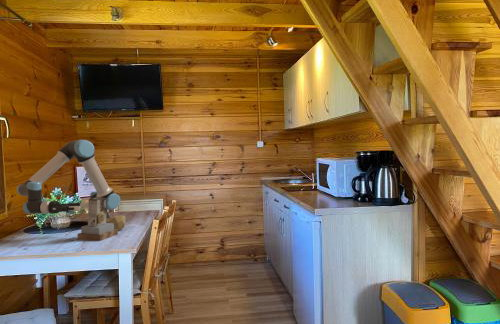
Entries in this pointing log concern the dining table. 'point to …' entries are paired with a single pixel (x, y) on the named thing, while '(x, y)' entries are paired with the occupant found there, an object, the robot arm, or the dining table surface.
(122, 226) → the low-poly potato
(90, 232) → the slate top block
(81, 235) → the walnut base block
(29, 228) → the dining table surface
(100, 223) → the coffee box
